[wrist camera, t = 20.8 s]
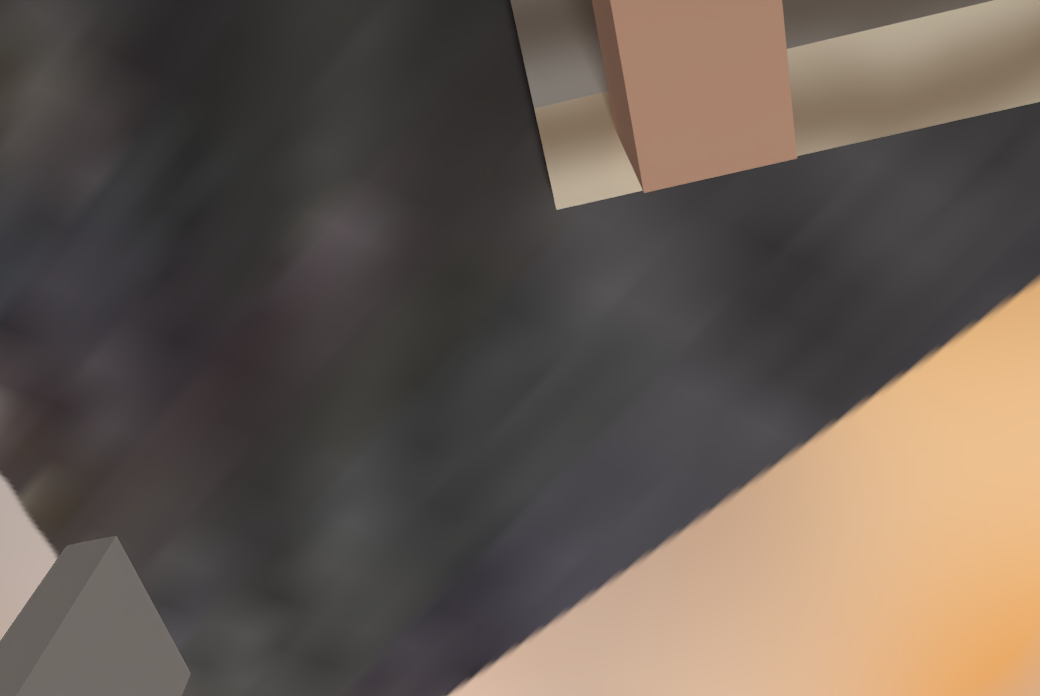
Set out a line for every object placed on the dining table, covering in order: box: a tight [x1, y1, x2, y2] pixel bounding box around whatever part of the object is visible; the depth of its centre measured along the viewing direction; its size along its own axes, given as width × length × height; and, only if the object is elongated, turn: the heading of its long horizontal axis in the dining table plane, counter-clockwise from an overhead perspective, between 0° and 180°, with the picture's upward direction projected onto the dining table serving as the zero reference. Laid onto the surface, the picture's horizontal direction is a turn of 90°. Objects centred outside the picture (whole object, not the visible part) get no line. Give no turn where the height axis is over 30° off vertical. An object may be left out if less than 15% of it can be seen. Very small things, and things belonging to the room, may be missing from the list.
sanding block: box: [592, 0, 797, 193], centre depth 28 cm, size 7×4×8 cm, turn 13°
